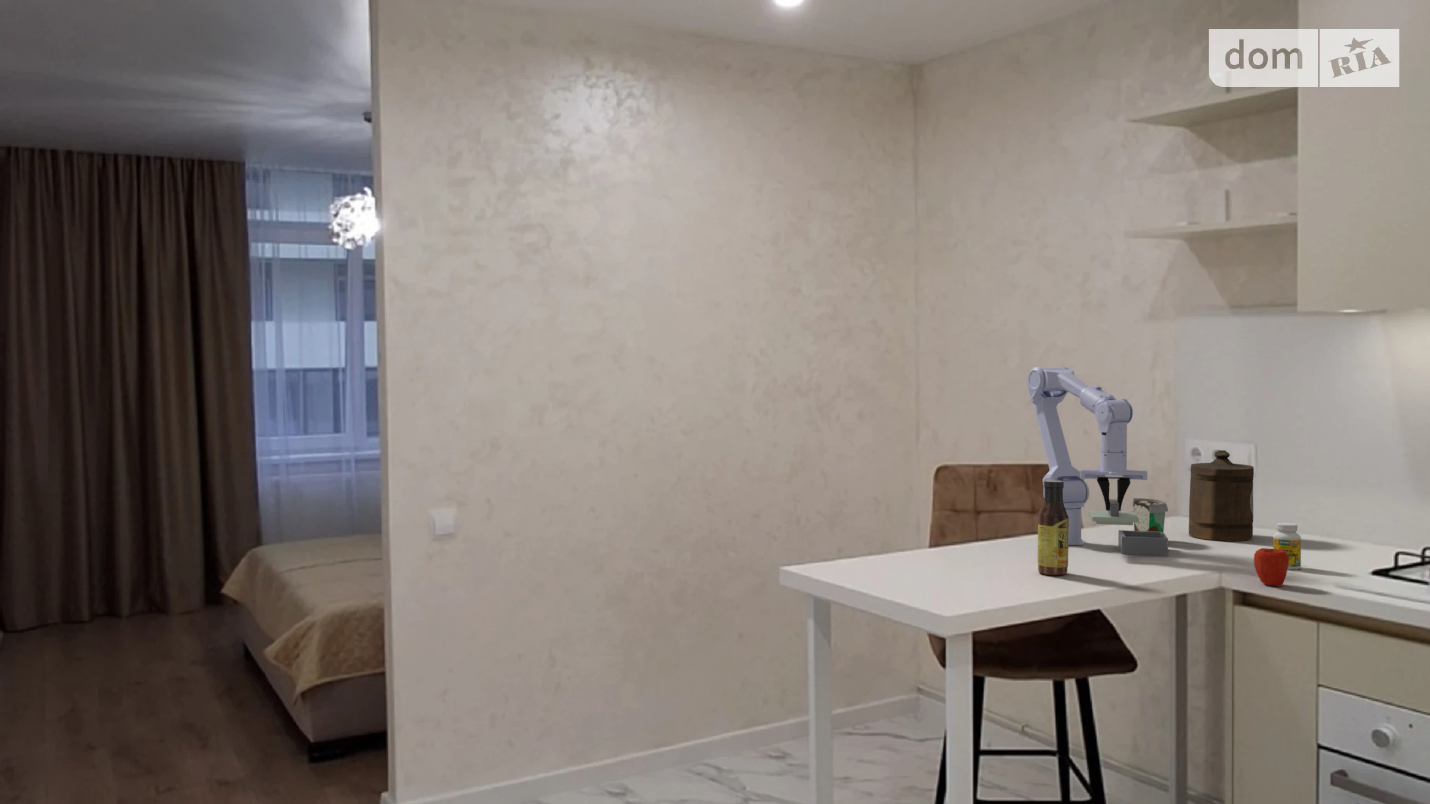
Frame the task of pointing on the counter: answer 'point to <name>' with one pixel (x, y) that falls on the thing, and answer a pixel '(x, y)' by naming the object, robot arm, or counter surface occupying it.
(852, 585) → the counter surface
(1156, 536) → the tub
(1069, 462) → the robot arm
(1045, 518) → the sauce bottle
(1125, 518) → the lid
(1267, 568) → the apple
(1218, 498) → the wooden container
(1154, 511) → the food container
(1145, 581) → the counter surface
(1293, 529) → the supplement bottle
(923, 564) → the counter surface
